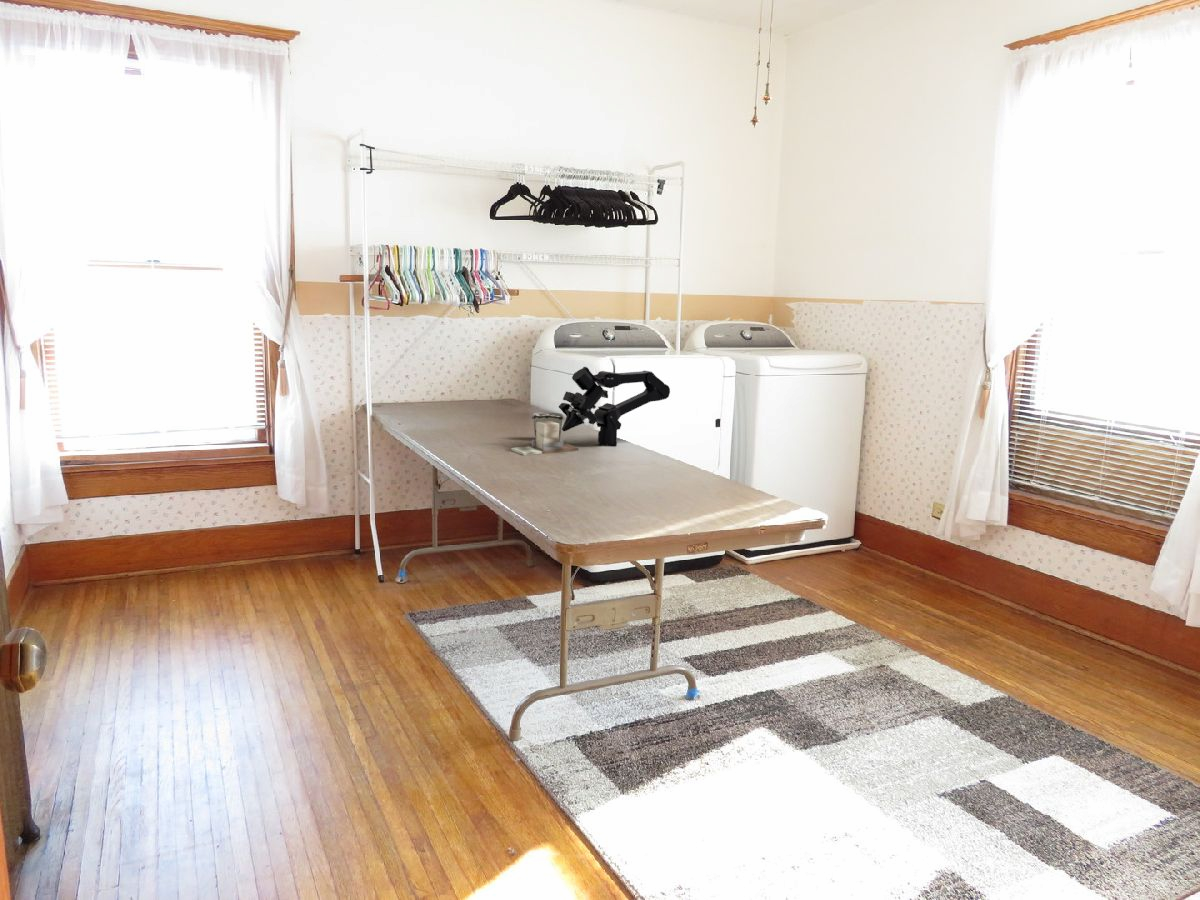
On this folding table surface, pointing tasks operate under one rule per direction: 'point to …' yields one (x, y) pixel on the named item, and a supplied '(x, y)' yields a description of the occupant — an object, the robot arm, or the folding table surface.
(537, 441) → the block
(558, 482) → the folding table surface
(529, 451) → the chute
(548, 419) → the food container
